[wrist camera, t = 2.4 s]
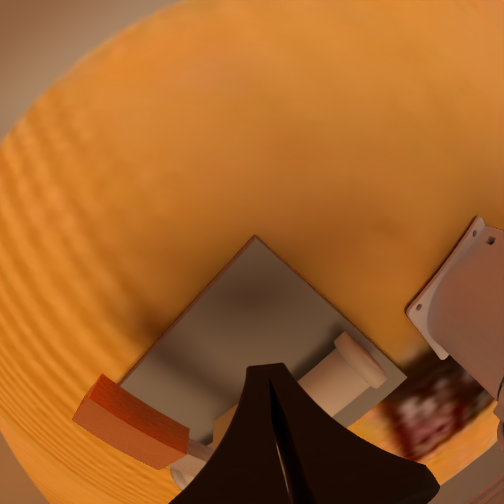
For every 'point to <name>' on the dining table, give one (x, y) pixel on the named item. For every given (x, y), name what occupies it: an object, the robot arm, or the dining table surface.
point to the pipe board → (258, 350)
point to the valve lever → (140, 429)
